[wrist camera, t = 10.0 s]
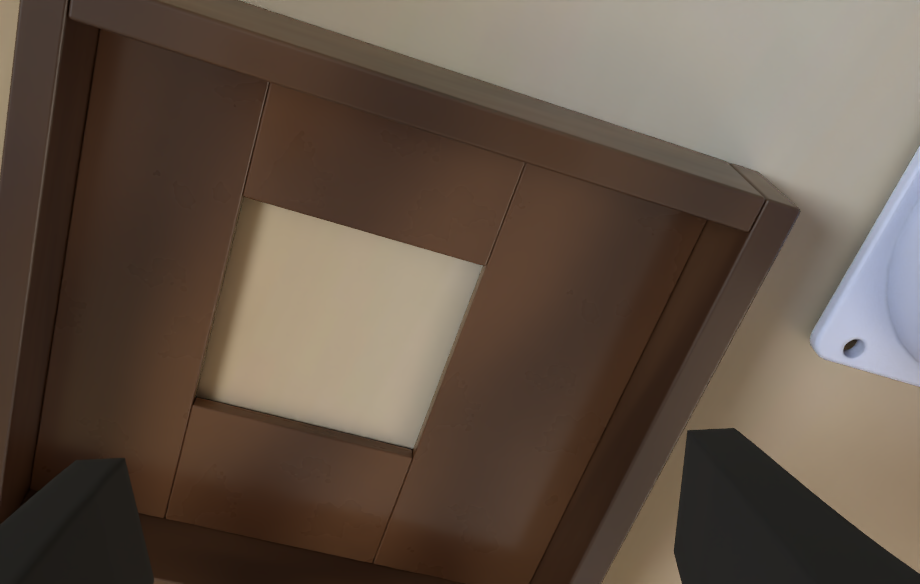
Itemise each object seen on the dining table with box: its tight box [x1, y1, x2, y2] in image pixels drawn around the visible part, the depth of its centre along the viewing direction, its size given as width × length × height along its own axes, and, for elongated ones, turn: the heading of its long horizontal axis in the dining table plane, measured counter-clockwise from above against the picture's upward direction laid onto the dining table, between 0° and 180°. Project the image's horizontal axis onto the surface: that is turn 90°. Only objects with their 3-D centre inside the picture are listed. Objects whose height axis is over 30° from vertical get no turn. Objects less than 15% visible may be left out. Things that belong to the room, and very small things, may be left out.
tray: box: [0, 0, 800, 584], centre depth 20 cm, size 15×14×2 cm
